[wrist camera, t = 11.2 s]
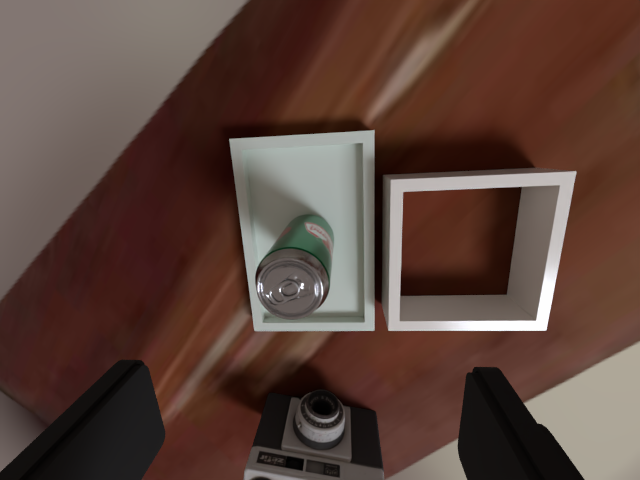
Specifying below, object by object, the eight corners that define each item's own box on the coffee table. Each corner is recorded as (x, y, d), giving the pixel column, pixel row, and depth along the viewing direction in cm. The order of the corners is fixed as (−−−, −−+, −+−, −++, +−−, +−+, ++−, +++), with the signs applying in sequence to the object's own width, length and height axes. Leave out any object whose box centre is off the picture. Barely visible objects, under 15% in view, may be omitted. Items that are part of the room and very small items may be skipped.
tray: (236, 139, 29) (229, 138, 27) (372, 131, 28) (374, 130, 26) (259, 321, 34) (254, 331, 33) (372, 320, 33) (374, 330, 31)
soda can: (343, 246, 30) (343, 305, 19) (301, 268, 31) (276, 336, 20) (318, 203, 29) (303, 238, 18) (275, 227, 30) (234, 274, 19)
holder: (382, 174, 29) (390, 179, 24) (535, 167, 27) (576, 171, 23) (381, 304, 33) (388, 330, 28) (515, 303, 31) (546, 330, 27)
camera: (384, 386, 36) (399, 472, 26) (370, 437, 38) (380, 532, 29) (271, 366, 36) (245, 443, 27) (264, 418, 39) (239, 505, 29)
